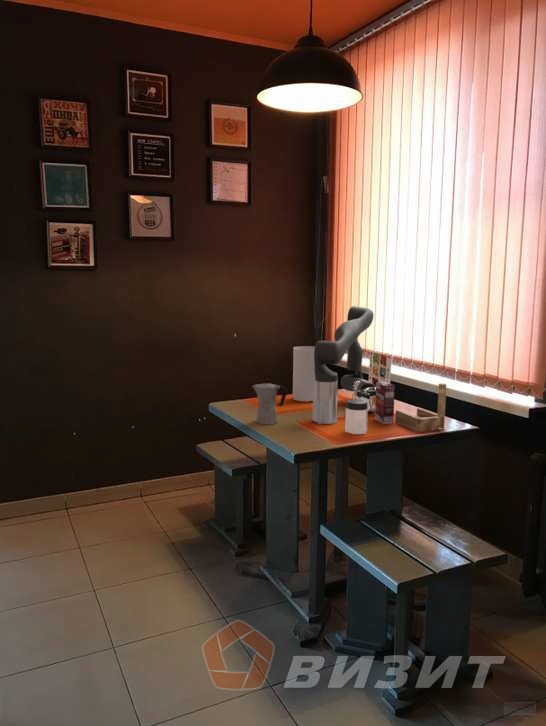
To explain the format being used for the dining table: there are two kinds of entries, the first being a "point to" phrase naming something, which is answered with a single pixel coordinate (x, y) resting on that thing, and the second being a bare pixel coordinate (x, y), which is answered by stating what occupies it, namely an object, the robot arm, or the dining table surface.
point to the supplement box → (384, 402)
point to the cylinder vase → (303, 373)
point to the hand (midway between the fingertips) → (378, 396)
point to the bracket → (425, 415)
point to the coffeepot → (268, 401)
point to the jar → (356, 416)
